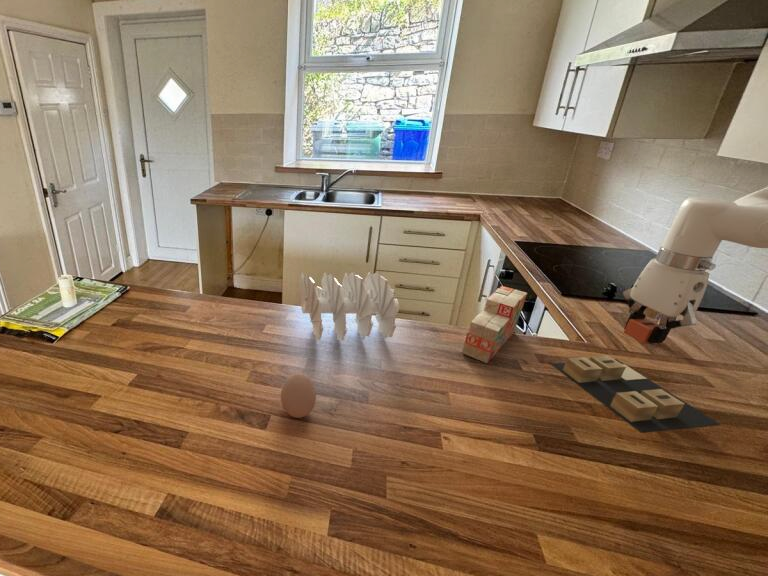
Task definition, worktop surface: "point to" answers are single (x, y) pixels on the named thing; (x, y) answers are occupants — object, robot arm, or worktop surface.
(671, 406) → the word tiles
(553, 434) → the worktop surface
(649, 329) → the orange toy block
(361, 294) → the white pleated sculpture
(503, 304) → the stack of blocks
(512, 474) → the worktop surface
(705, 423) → the letter mat
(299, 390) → the egg
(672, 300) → the robot arm
